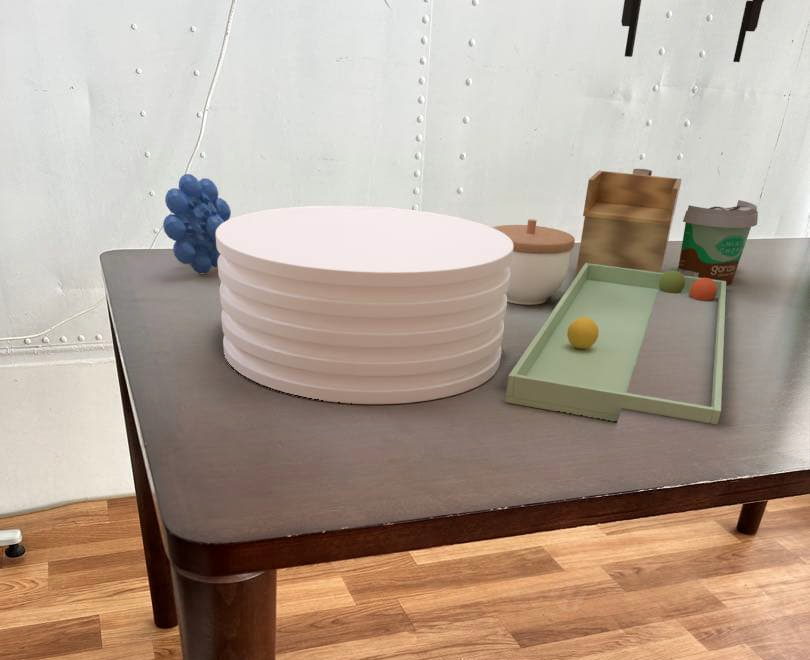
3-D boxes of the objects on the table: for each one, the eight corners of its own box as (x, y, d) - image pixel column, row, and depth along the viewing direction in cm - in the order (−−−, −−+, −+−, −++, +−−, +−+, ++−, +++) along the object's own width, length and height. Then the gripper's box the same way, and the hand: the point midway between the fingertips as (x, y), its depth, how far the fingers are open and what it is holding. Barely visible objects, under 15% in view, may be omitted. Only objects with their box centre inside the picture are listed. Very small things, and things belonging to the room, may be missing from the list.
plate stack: (556, 378, 80) (575, 257, 73) (289, 425, 67) (285, 284, 61) (413, 300, 100) (419, 200, 94) (188, 325, 88) (177, 212, 81)
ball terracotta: (712, 293, 104) (723, 300, 101) (688, 304, 104) (699, 311, 102) (707, 270, 102) (718, 276, 100) (683, 281, 103) (694, 288, 100)
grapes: (198, 289, 99) (189, 183, 93) (156, 279, 102) (145, 175, 95) (258, 270, 108) (253, 172, 102) (218, 261, 111) (211, 165, 104)
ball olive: (688, 282, 106) (681, 261, 104) (688, 296, 104) (680, 274, 102) (664, 291, 107) (656, 270, 105) (663, 304, 105) (654, 283, 103)
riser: (660, 277, 116) (673, 217, 112) (657, 287, 111) (670, 225, 107) (581, 266, 119) (591, 208, 114) (575, 276, 114) (584, 215, 109)
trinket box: (517, 315, 97) (527, 232, 92) (463, 291, 104) (470, 214, 99) (582, 304, 102) (596, 225, 97) (526, 282, 109) (536, 208, 104)
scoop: (676, 206, 117) (684, 172, 115) (669, 226, 105) (677, 188, 102) (598, 198, 120) (604, 165, 118) (582, 216, 108) (588, 179, 105)
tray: (721, 301, 107) (726, 281, 105) (713, 439, 69) (721, 411, 68) (582, 282, 111) (585, 262, 110) (504, 402, 74) (508, 375, 73)
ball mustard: (600, 317, 83) (594, 349, 83) (602, 322, 86) (595, 352, 86) (569, 312, 84) (563, 344, 84) (572, 317, 87) (565, 348, 87)
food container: (706, 292, 110) (725, 214, 105) (669, 281, 114) (686, 205, 109) (759, 282, 116) (780, 207, 111) (722, 271, 120) (741, 199, 115)
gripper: (609, -157, 95) (581, 54, 106) (840, -161, 89) (784, 64, 100) (616, -145, 101) (589, 54, 112) (833, -147, 95) (781, 64, 106)
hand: (681, 59), depth 106 cm, fingers open, 13 cm apart
